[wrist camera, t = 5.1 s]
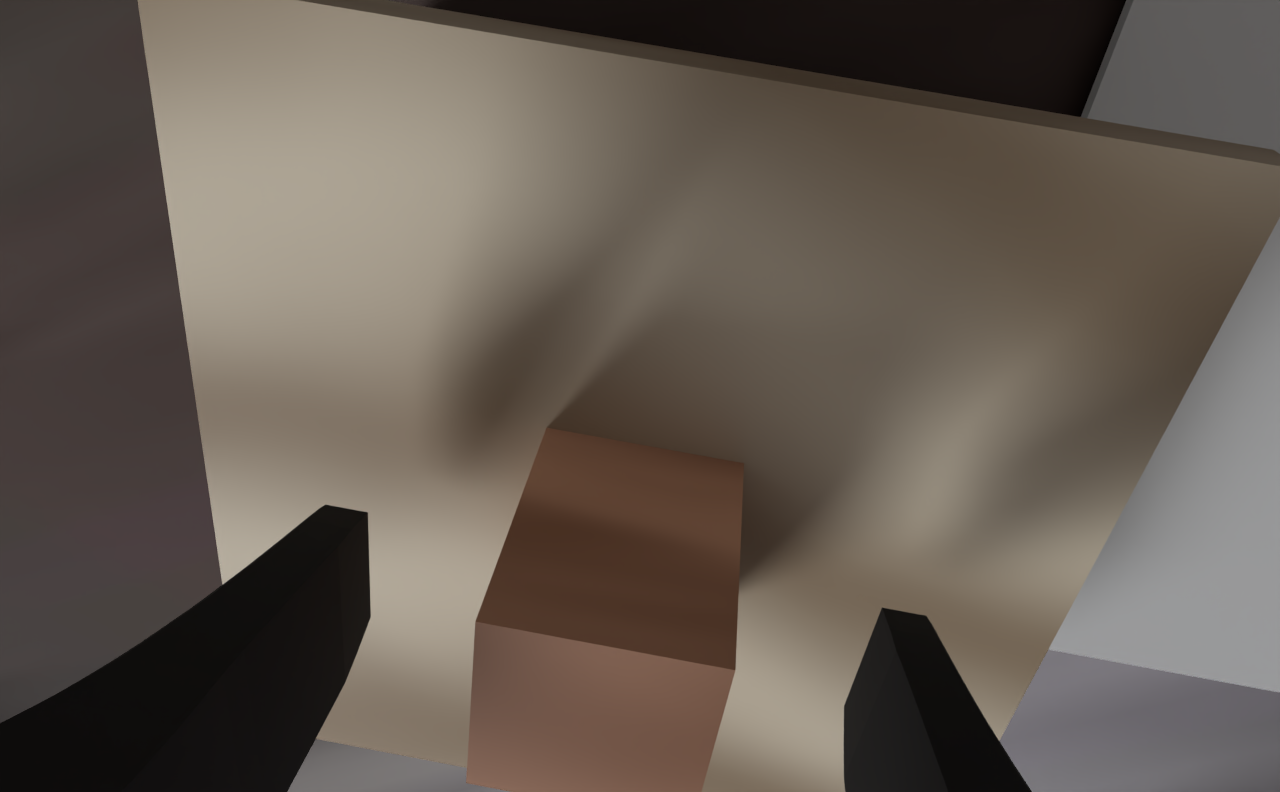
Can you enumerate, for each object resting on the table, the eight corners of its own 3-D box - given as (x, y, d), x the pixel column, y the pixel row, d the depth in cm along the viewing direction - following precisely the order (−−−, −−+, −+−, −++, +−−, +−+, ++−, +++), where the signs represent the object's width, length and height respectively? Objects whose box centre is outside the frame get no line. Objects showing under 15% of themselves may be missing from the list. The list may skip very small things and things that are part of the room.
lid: (931, 820, 19) (974, 1093, 15) (261, 693, 19) (126, 924, 15) (1273, 149, 11) (1546, 330, 7) (169, -37, 12) (-141, 39, 8)
